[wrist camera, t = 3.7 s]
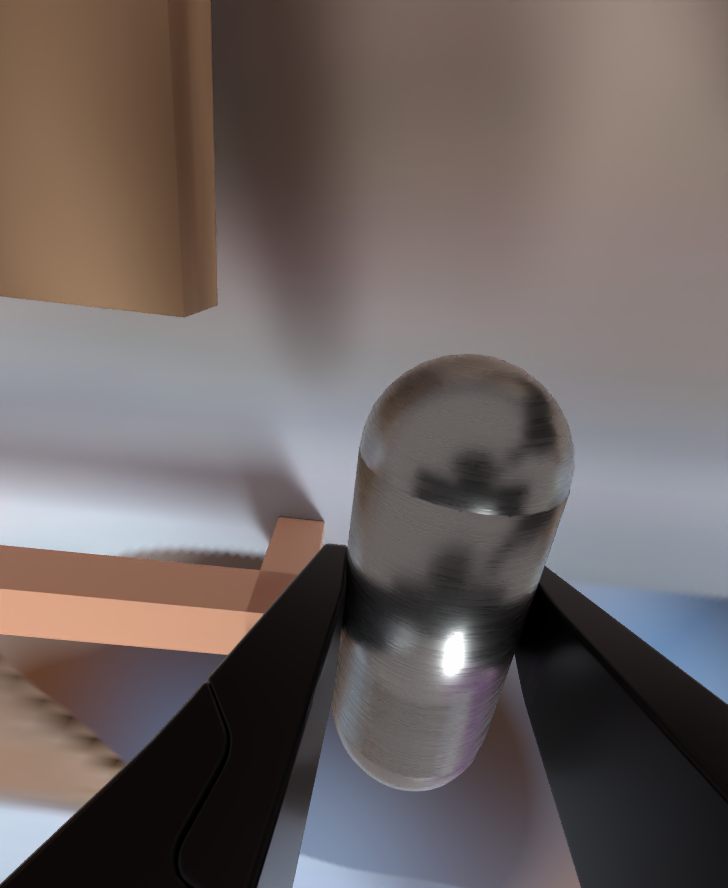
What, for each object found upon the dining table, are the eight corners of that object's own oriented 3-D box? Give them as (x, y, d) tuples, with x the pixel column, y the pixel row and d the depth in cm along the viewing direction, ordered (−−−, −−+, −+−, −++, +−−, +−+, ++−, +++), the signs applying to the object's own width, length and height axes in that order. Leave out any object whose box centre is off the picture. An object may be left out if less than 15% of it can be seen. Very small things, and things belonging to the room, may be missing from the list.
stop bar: (324, 521, 19) (307, 617, 14) (320, 558, 20) (304, 661, 15) (-75, 481, 19) (-238, 566, 14) (-62, 520, 20) (-211, 614, 15)
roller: (371, 326, 7) (372, 374, 4) (550, 347, 7) (662, 406, 5) (331, 672, 10) (317, 823, 8) (456, 683, 10) (488, 837, 8)
